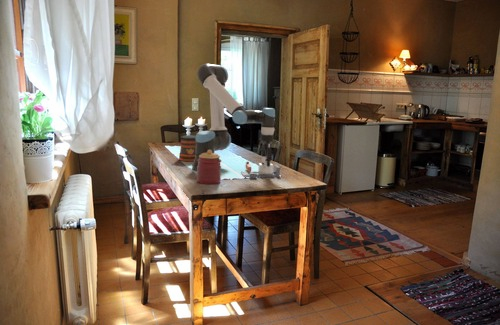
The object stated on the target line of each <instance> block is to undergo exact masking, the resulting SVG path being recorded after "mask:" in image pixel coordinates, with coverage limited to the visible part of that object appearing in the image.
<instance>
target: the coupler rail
mask: <svg viewBox="0 0 500 325" xmlns="http://www.w3.org/2000/svg"><path fill="white" fill-rule="evenodd" d="M240 173H241V175H242V177H249V179H253V180H257V178H259V177H260V178H261V177H263V178H267V177H268V178H269V177H270V178H280V176H281V167H280V165H278V164H273V175H261V174H259V173H258V171H251V172H248V171H241V172H240Z"/></svg>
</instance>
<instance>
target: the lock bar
mask: <svg viewBox="0 0 500 325" xmlns="http://www.w3.org/2000/svg"><path fill="white" fill-rule="evenodd" d="M245 169H246V172H252V166H251V165H250V162H249V161H246V162H245Z"/></svg>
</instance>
